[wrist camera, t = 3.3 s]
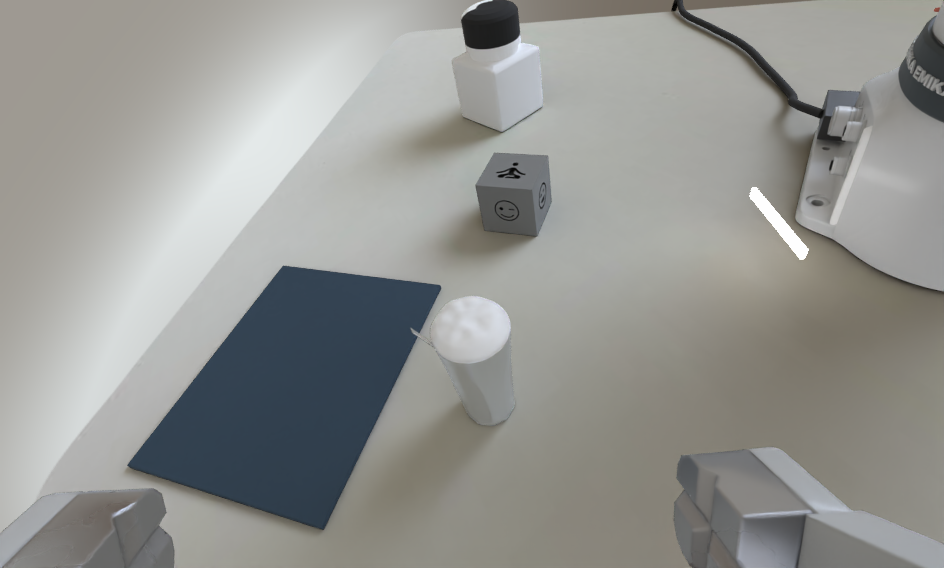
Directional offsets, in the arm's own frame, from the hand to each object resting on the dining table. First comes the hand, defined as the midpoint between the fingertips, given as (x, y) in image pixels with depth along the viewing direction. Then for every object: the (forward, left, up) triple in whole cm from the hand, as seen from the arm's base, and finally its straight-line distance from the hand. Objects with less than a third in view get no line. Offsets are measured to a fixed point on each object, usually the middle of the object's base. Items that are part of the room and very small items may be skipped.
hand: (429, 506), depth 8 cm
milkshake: (-14, -7, -22) cm, 27 cm away
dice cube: (-34, -10, -22) cm, 42 cm away
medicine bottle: (-53, -17, -22) cm, 60 cm away
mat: (-14, -22, -22) cm, 34 cm away
